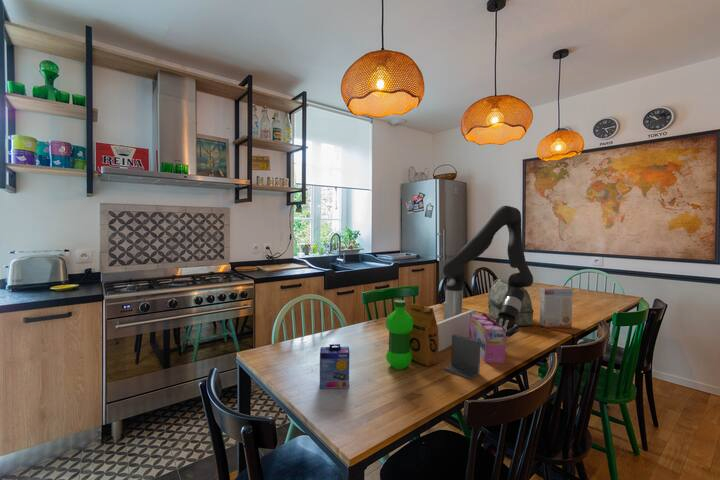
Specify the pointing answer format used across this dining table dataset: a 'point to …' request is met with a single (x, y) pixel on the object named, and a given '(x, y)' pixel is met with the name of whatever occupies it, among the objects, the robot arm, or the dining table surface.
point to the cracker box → (556, 307)
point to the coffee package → (424, 335)
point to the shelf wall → (453, 328)
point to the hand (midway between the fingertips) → (498, 343)
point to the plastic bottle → (399, 336)
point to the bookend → (464, 357)
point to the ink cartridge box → (334, 367)
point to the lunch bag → (497, 298)
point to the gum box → (488, 338)
